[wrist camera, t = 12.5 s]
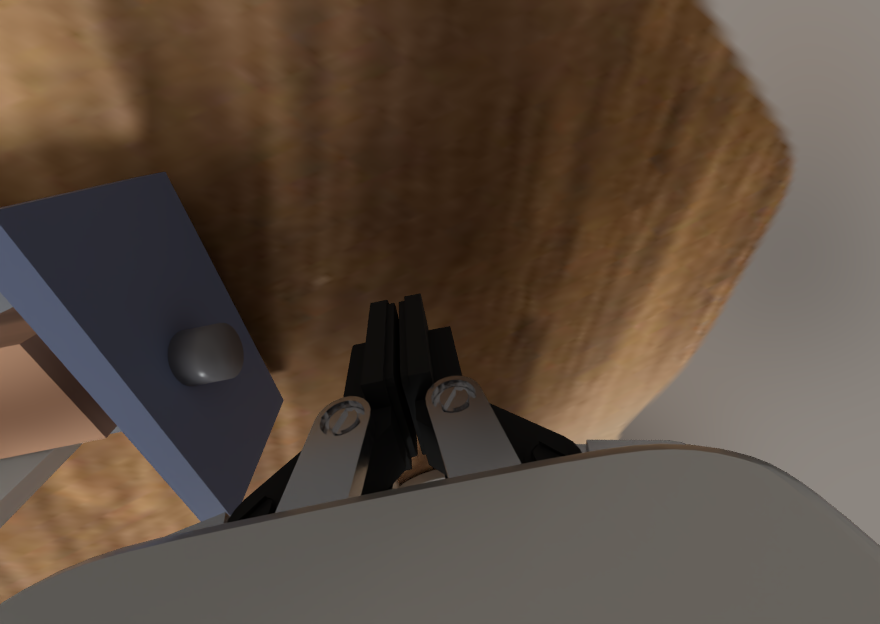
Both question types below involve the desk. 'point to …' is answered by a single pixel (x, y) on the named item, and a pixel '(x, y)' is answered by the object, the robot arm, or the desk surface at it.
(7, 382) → the block
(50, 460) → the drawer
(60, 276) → the blue pull-out tray
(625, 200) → the desk surface
